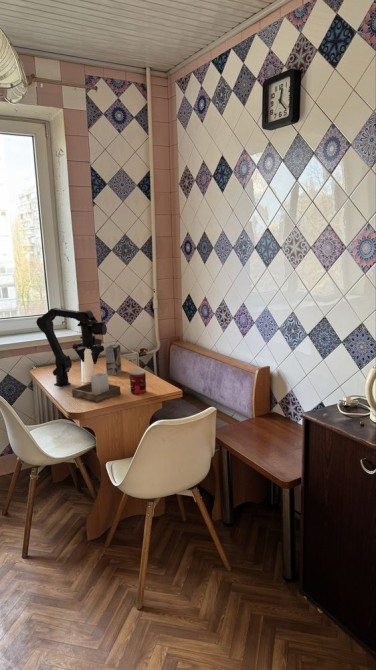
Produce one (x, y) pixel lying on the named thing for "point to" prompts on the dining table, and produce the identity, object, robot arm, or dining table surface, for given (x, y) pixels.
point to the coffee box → (113, 359)
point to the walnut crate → (86, 394)
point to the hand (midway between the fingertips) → (89, 363)
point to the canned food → (138, 382)
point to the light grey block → (99, 383)
